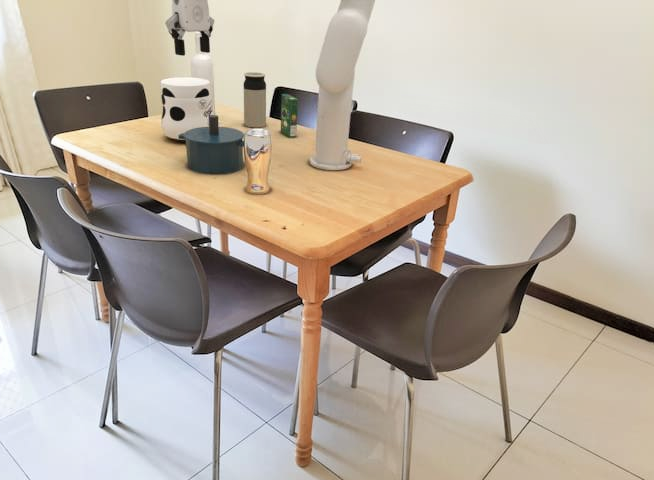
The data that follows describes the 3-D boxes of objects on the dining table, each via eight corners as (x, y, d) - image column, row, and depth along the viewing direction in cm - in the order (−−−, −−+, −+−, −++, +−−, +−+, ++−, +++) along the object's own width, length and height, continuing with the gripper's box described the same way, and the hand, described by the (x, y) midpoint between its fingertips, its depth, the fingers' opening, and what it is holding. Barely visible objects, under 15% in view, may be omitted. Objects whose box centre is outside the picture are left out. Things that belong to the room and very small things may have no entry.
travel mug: (262, 129, 183) (261, 76, 174) (241, 126, 185) (240, 74, 176) (268, 123, 190) (268, 73, 181) (248, 121, 192) (247, 71, 183)
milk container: (226, 140, 169) (223, 84, 160) (178, 148, 158) (173, 88, 149) (199, 128, 180) (195, 75, 171) (153, 135, 169) (147, 79, 160)
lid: (199, 127, 151) (198, 106, 148) (252, 134, 148) (252, 112, 145) (173, 142, 137) (171, 119, 134) (230, 149, 134) (229, 126, 131)
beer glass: (272, 185, 135) (272, 128, 127) (271, 195, 129) (271, 136, 121) (245, 184, 134) (244, 127, 127) (243, 194, 128) (242, 135, 121)
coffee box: (297, 137, 176) (298, 98, 170) (289, 138, 175) (290, 98, 168) (287, 131, 182) (288, 93, 176) (280, 132, 181) (280, 93, 175)
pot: (194, 153, 155) (192, 125, 151) (259, 161, 151) (258, 133, 147) (169, 168, 142) (166, 138, 138) (239, 178, 138) (239, 147, 134)
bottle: (218, 117, 194) (214, 31, 179) (212, 122, 188) (207, 33, 173) (198, 116, 195) (192, 30, 180) (191, 121, 188) (184, 32, 173)
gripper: (173, -17, 126) (179, 57, 135) (221, -15, 139) (223, 52, 147) (153, -18, 129) (160, 54, 138) (201, -17, 142) (204, 49, 151)
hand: (193, 53), depth 143 cm, fingers open, 9 cm apart
